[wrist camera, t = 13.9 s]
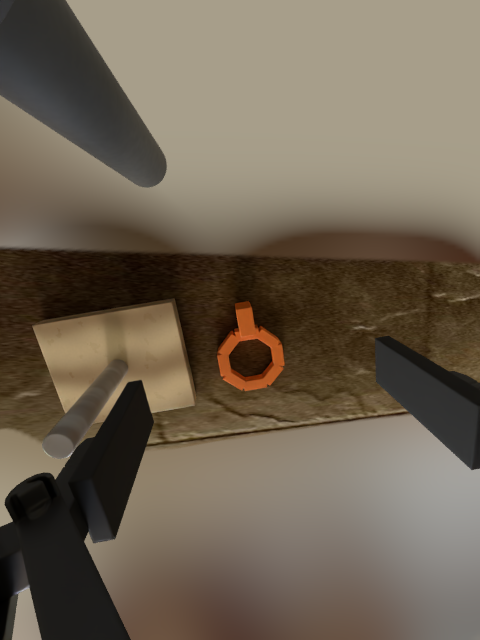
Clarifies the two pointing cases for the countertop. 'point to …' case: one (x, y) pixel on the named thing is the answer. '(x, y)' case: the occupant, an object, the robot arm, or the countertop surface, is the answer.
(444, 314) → the countertop surface
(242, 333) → the ring
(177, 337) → the board
